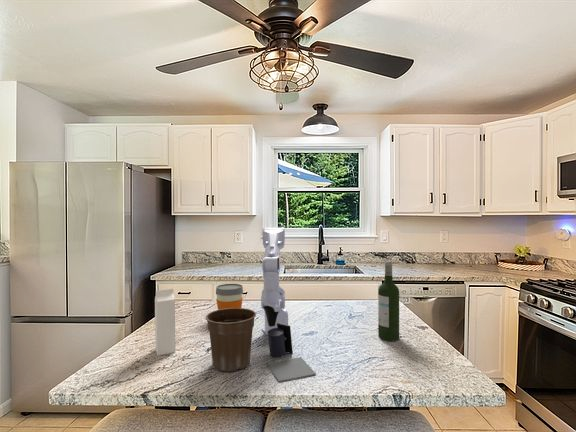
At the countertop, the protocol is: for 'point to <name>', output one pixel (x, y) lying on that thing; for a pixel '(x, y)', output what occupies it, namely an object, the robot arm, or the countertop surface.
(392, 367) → the countertop surface
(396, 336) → the wine bottle
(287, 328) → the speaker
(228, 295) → the reusable coffee cup
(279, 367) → the mat
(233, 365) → the plant pot
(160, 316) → the milk
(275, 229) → the robot arm
